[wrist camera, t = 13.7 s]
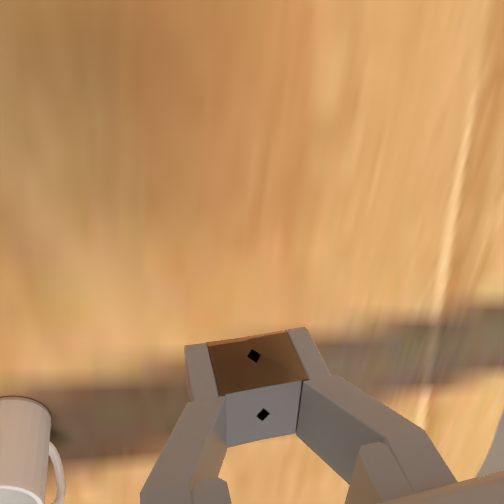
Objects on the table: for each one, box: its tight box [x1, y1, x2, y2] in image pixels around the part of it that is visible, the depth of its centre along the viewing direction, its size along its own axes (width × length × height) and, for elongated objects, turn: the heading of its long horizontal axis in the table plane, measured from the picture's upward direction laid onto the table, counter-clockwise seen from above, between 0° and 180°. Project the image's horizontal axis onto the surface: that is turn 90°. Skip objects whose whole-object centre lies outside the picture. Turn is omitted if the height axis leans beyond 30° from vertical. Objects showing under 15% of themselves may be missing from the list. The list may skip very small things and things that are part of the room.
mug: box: [0, 396, 66, 504], centre depth 46 cm, size 11×9×10 cm
